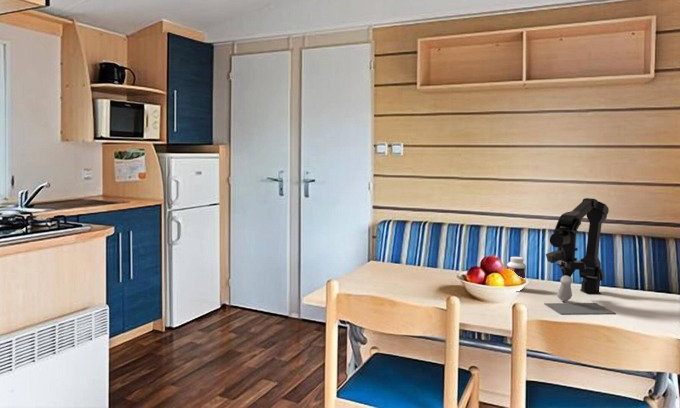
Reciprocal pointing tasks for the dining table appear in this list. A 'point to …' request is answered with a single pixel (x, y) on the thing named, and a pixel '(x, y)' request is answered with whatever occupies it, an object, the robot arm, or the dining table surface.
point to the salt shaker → (565, 288)
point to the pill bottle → (517, 266)
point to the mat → (578, 308)
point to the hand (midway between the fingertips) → (565, 282)
